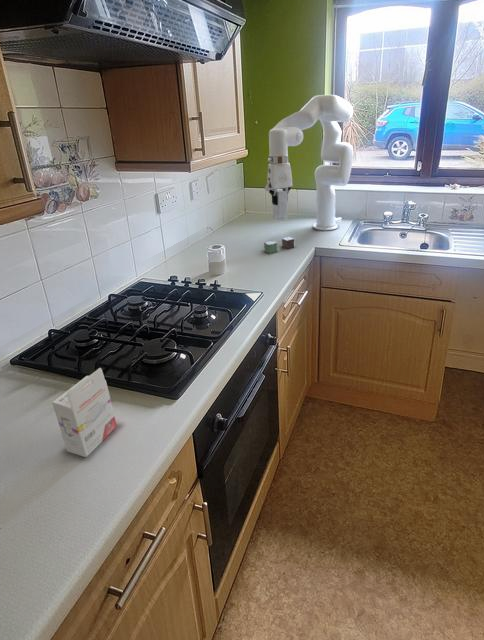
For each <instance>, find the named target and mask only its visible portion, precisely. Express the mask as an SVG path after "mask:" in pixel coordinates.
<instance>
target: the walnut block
mask: <svg viewBox="0 0 484 640" xmlns="http://www.w3.org/2000/svg"><path fill="white" fill-rule="evenodd" d="M281 247H282V248H283V249H286V250H290V249H294V248H295V238H293V237H291V236H287V237H282V238H281Z"/></svg>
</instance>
